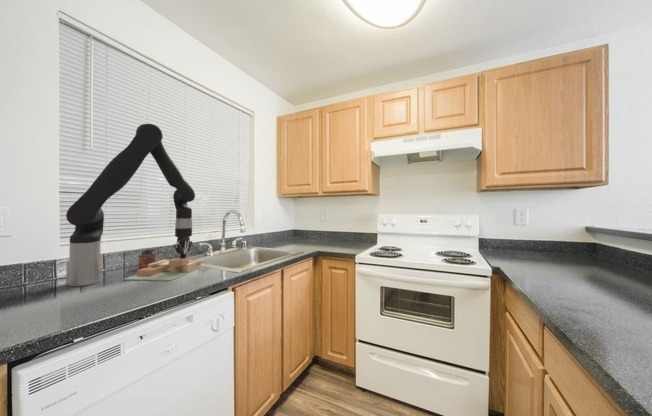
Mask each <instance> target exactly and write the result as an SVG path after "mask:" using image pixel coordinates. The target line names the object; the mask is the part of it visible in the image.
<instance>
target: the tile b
mask: <svg viewBox="0 0 652 416" xmlns="http://www.w3.org/2000/svg"><path fill="white" fill-rule="evenodd" d="M169 260H170V261H169V266H185V265H187V264H189V260H190V258H189V257H188V258H187V257H186V258H180V257H175V258H172V259H169Z"/></svg>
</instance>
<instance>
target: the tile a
mask: <svg viewBox="0 0 652 416" xmlns="http://www.w3.org/2000/svg"><path fill="white" fill-rule="evenodd" d="M136 273H137V274H136V275H137V276H153V275H156V274H159V273H160V268H143V269H140V270H138V269H137V271H136Z"/></svg>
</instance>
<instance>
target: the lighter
mask: <svg viewBox="0 0 652 416" xmlns="http://www.w3.org/2000/svg"><path fill="white" fill-rule="evenodd" d="M154 262H157V253H156V248H151V249H150V248H146V249H143V250H141V254H138V267H137V268H138V269H143V268H148V264H151V263H154ZM138 269H137V270H138Z"/></svg>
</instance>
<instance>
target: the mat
mask: <svg viewBox="0 0 652 416" xmlns="http://www.w3.org/2000/svg"><path fill="white" fill-rule="evenodd" d="M188 274H189V273H188V272H160V273H159V274H156V275H153V276H137V274H135V275H132V276H128V277H126V278H124V279H123V281H149V282H150V281H154V282H155V281H157V282H160V281H162V282H172V281H174V280H176V279H180V278H182V277H183V275H184V276H186V275H188Z"/></svg>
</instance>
